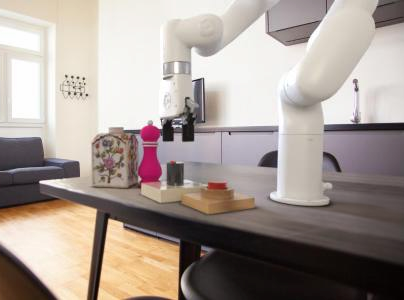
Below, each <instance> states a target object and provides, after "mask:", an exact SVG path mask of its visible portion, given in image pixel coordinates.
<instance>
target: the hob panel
mask: <svg viewBox="0 0 404 300" xmlns="http://www.w3.org/2000/svg"><path fill="white" fill-rule="evenodd" d="M206 185H207V184H205V183H201V182H197V181H194V180H189V179H184V185H179V186H173V185H167V180H166V181H160V182H150V183H141V187H140V189H141V191H140V194H141V196H144V197H147V198H149V199H151V200H153V201H156V202H157V203H159V204H163V203H164V204H165V203H173V202H182V194H188V193H199V192H201V187H202V186H206Z"/></svg>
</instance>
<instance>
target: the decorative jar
mask: <svg viewBox="0 0 404 300" xmlns="http://www.w3.org/2000/svg"><path fill="white" fill-rule="evenodd" d="M90 145H91V148H90V149H91V151H90V154H91V157H90V158H91V159H90V160H91V163H90V164H91V186H92V187H94V188H116V189H128V188H130V187H132V186H133V185H135V184H137V183H139V178H140V176H139V175H138V169H139V166H140V163H139V161H140V159H139V140H138V138H137V136H136V134H135V133H132V132H125V127H124V126H109V127H108V131H107V132H104V133H103V132H100V133H96V135H95V136H94V137H93V139H92V141H91V142H90Z"/></svg>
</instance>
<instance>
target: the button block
mask: <svg viewBox="0 0 404 300" xmlns="http://www.w3.org/2000/svg"><path fill="white" fill-rule="evenodd" d="M181 204H182V205H184V206H187V207H189V208H191V209H194V210H197V211H199V212H201V213H204V214H206V215H213V214H219V213H227V212H234V211H241V210H242V211H243V210H250V209H255V197H253V196H249V195H246V194H242V193H237V192H235V188H234V187H232V186H229V185H227V189H224V190H215V189H208V184H206V186H202V187H201V192H199V193H188V194H182V201H181Z"/></svg>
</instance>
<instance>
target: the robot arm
mask: <svg viewBox="0 0 404 300" xmlns="http://www.w3.org/2000/svg"><path fill="white" fill-rule="evenodd" d="M379 1H380V0H334V1H333V3H332V4H331V6H330V8H329V9H328V11H327V13H326V14H325V15H324V17H323V18H322V19H321V22H320V23H319V24H318V26H317V28H315V30H314V31H313V32H312V34H311V35H310V36H309V38H308V41H307V45H306V51H305V53H304V55H303V56H302V58H300V60H299V62H298V63H297V64H295V65H294V66H293V67H291V68H290V69H288V70H287V71H286V72H285V73H284V74H283V76H281V78H280V80H279V82H278V85H277V88H276V89H277V90H276V100H277V111H278V137H277V138H278V139H277V175H276V182H277V183H276V191H272V192H270V193H269V198H270V199H271V200H272V201H275V202H278V203H281V204H288V205H292V206H303V207H304V206H305V207H320V206H327V205H329V204H330V198H329V196H327V195H325V194H324V192H327V191H332V189H333V184H332V183H331V182H324V181H323V167H324V165H323V164H324V163H323V162H324V136H325V135H324V134H325V118H324V112H323V106H322V102H324V101H327V100H329V99H331V98H333V96H334V95H336V94H337V93H338V92H339V91H340V89H342V87H343V86H344V84H345V83H346V81H347V80H348V79H349V77H350V76H351V74H352V73H353V71H354V70H355V69H356V67H357V66H358V64H359V63H360V61H361V60H362V58H363V57H364V56H365V54H366V52H367V51H368V50H369V48H370V46H371V45H372V42H373V40H374V37H375V35H376V23H375V20H374V17H373V14H374V12H375V11H376V9H377V7H378V5H379ZM279 2H281V0H232V1H231V2H230V4H229V5H228V6H227V7H226V9H224V11H223V12H222V13H221V14H219V15H217V14H214V13H202V14H198V15H195V16H191V17H187V18H184V19H181V18H171V19H168V20H166V21H164V22H163V23H162V24H161V26H160V70H161V71H160V73H161V82H160V89H159V108H158V109H159V112H158V113H159V114H158V116H159V121H160V122H161V124H160V125H161V133H162V137H161V138H162V140H161V141H162V142H163V143H168V142H171V143H173V142H175V126H173V125H174V122H175V120H181V122H182V124H181V142H182V143H193V142H195V125H196V123H197V121H196V120H197V118H198V112H199V107H200V105H199V103H197V102H196V101H195V96H194V95H195V94H194V83H193V79H192V75H193V74H192V49H193V51H194V52H195V53H196V54H197V55H198V56H201V57H203V58H209V57H212V56H214V55H217V53H219V52H220V51H222V50H223V49H224V48H226V47H227V46H228V45H230V44H231V43H233V42H234V41H235V40H236V39H237V38H239V36H240V35H242V34H243V33H244V32H245V31H246V30H247V29H248V28H250V27H251V26H252V25H253V24H254V23H255V22H257V21H258V20H259V19H260V18H261V17H262V16H263V15H264V14H265V13H266V12H267V11H269V10H270V9H271V8H272V7H274V6H275V5H276V4H278V3H279Z"/></svg>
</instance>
